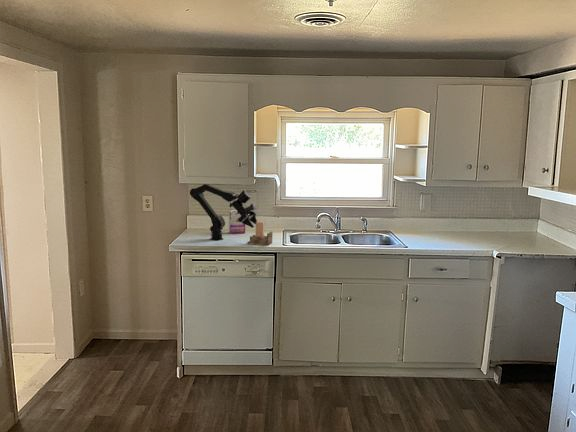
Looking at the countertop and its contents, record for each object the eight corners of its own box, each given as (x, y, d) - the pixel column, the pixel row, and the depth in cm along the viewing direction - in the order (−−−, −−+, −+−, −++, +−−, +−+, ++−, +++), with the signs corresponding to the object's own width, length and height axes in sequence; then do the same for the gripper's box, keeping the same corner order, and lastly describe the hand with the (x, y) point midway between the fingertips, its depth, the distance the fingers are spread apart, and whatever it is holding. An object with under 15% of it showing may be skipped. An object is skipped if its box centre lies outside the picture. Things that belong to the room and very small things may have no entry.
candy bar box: (243, 232, 345) (243, 209, 343) (245, 233, 341) (245, 210, 338) (228, 232, 341) (228, 210, 339) (230, 234, 336) (230, 211, 334)
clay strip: (255, 241, 308) (255, 221, 306) (256, 241, 310) (257, 221, 308) (262, 242, 306) (263, 222, 304) (264, 241, 309) (264, 222, 307)
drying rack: (247, 243, 307) (247, 232, 306) (252, 241, 314) (252, 230, 313) (268, 245, 303) (268, 233, 302) (272, 242, 310) (272, 231, 309)
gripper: (243, 201, 298) (259, 220, 296) (253, 198, 316) (269, 216, 314) (231, 213, 301) (247, 231, 300) (242, 209, 319) (257, 226, 318)
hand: (255, 226), depth 308 cm, fingers open, 9 cm apart
